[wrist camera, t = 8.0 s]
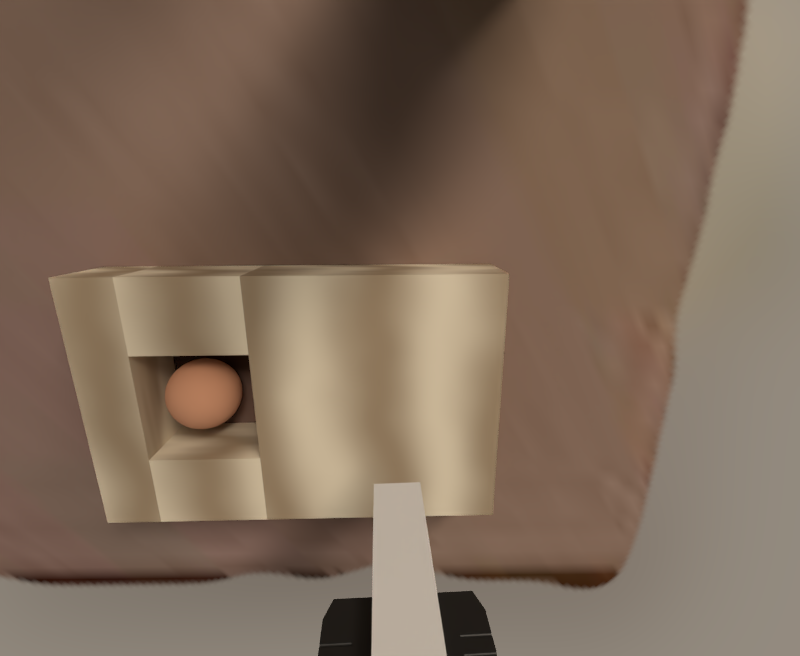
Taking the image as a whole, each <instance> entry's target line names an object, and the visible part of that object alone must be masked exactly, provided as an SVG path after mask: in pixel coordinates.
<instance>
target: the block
mask: <svg viewBox="0 0 800 656" xmlns="http://www.w3.org/2000/svg"><path fill="white" fill-rule="evenodd" d="M48 279H49V283H50V287H51V292H52V296H53V300H54V304H55V308H56V312H57V316H58V320H59V324H60V329H61V333H62V337H63V341H64V345H65V349H66V353H67V357H68V361H69V366H70V370H71V374H72V378H73V382H74V386H75V390H76V394H77V398H78V402H79V407H80V411H81V415H82V419H83V423H84V427H85V431H86V435H87V439H88V444H89V448H90V452H91V456H92V460H93V464H94V468H95V472H96V476H97V481H98V485H99V489H100V493H101V497H102V501H103V505H104V509H105V513H106V517H107V522H108V523H123V522H170V521H218V520H265V519H313V518H360V517H373V506H374V484H385V483H412V482H420V484H421V491H422V497H423V504H424V510H425V516H456V515H493V503H494V489H495V474H496V460H497V445H498V431H499V417H500V402H501V388H502V373H503V359H504V344H505V330H506V316H507V301H508V287H509V274H508V273H507V272H505V271H503V270H501V269H499V268H497V267H495V266H493V265H491V264H392V265H262V266H132V267H101V268H96V269H91V270H85V271H80V272H75V273H70V274H65V275H60V276H55V277H50V278H48ZM209 355H249V364H250V373H251V382H252V390H253V399H254V408H255V417H256V423H223V424H221V425H219V426H216V427H213V428H209V429H193V428H189V427H187V426H184V425H182V424H180V423H179V422H177V421H176V420H175V419H174V418H173V417H172V416H171V414H170V413H169V411H168V409H167V406H166V403H165V389H166V386H167V383H168V381H169V379H170V377H171V376H172V374H173V373H174V372H175V371H176V370H175V364H174V358H173V356H209Z"/></svg>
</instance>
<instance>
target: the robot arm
mask: <svg viewBox="0 0 800 656" xmlns="http://www.w3.org/2000/svg"><path fill="white" fill-rule="evenodd" d="M372 581H373V582H372V583H373V584H372V597H369V598H350V599H334V600H333V602H332V604H331V605H330V607H329V609H328V611H327V613H326V615H325V616H324V618H323V622H322V630H321V637H320V647H319V653H318V656H497V654H496V648H495V645H494V641H493V638H492V635H491V630H490V626H489V622H488V618H487V615H486V611H485V609H484V607H483V606H482V604H481V603H480V602H479V600H478V599H477V597H476V596H475V595H474V593H473V592H472V591H462V592H443V593H437V589H436V582H435V576H434V569H433V563H432V556H431V549H430V543H429V536H428V530H427V523H426V517H425V510H424V504H423V497H422V491H421V484H420V482H412V483H385V484H374V506H373V578H372Z"/></svg>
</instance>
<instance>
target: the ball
mask: <svg viewBox="0 0 800 656" xmlns="http://www.w3.org/2000/svg"><path fill="white" fill-rule="evenodd" d="M242 393H243V391H242V383H241V380H240V378H239V376H238V374H237V373H236V371H235V370H234V369H233V368H232V367H231V366H229V365H228V364H226V363H224V362H222V361H220V360H217V359H211V358H202V359H196V360H193V361H190V362H188V363H186V364H184V365H182V366H181V367H180V368H178V369H177V370H176V371H175V372H174V373H173V374H172V376H171V377H170V379H169V381H168V383H167V386H166V389H165V403H166V406H167V409H168V411H169V413H170V414H171V416H172V417H173V418H174V419H175V420H176V421H177V422H179V423H180V424H182V425H184V426H187V427H189V428H193V429H209V428H213V427H216V426H219V425H221V424H223V423H224V422H226V421H227V420H228V419H229V418H231V417H232V416H233V415H234V413H235V412H236V411H237V409H238V407H239V405H240V403H241V399H242Z"/></svg>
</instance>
